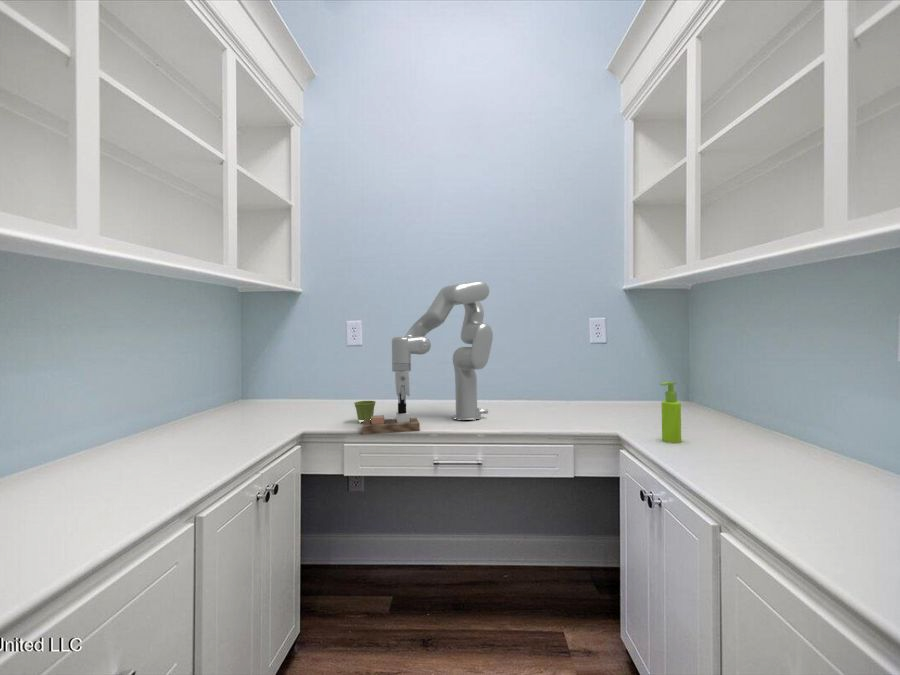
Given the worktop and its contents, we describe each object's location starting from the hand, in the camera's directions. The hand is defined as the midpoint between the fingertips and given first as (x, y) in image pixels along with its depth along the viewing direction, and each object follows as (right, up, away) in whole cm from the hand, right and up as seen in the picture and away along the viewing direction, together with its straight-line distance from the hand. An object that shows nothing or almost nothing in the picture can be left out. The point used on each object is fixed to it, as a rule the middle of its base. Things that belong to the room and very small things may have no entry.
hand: (402, 413), depth 184 cm
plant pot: (-18, -7, +15) cm, 24 cm away
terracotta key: (-9, -5, -1) cm, 11 cm away
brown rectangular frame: (-5, -6, -1) cm, 8 cm away
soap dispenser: (+94, -5, -29) cm, 98 cm away
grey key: (0, -4, 0) cm, 4 cm away
